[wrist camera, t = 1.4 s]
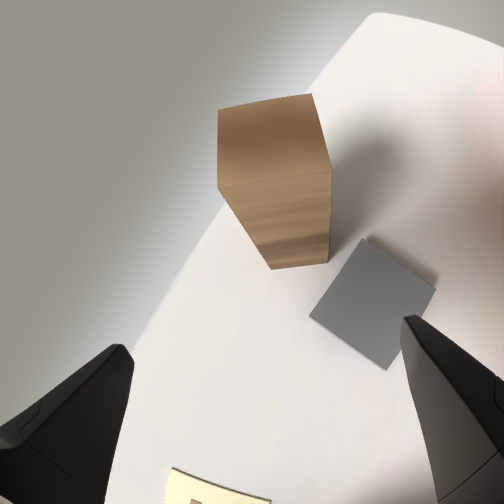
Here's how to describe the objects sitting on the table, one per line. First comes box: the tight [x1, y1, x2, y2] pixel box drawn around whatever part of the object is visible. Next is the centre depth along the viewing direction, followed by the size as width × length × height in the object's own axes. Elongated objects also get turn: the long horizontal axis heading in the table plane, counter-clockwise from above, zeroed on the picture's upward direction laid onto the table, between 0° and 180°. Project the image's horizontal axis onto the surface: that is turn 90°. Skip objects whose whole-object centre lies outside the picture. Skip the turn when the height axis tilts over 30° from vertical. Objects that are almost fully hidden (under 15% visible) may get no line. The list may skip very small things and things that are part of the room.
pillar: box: [217, 93, 332, 270], centre depth 18 cm, size 4×4×13 cm
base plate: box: [309, 238, 436, 371], centre depth 20 cm, size 7×7×2 cm
